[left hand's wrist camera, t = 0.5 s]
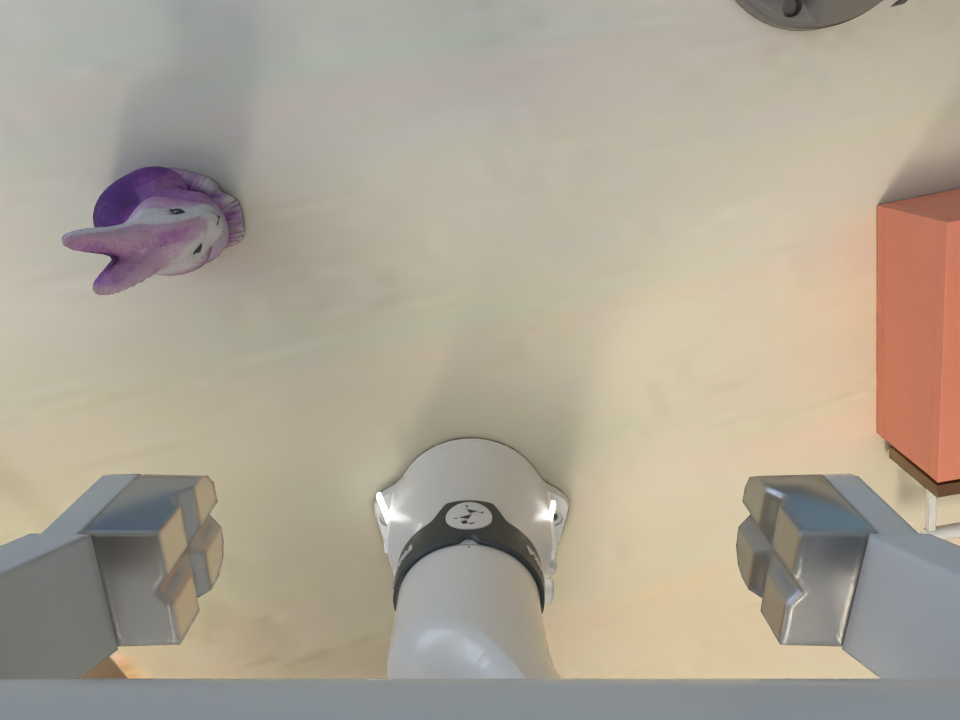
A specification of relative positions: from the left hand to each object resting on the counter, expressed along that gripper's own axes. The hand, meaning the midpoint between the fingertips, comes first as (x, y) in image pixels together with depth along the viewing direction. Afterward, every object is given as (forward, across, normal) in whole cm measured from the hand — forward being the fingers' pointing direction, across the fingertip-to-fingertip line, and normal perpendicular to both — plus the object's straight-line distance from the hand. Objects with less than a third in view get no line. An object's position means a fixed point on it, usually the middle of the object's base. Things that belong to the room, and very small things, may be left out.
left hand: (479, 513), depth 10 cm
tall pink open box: (+47, +40, -11) cm, 63 cm away
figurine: (+47, -24, -2) cm, 53 cm away
